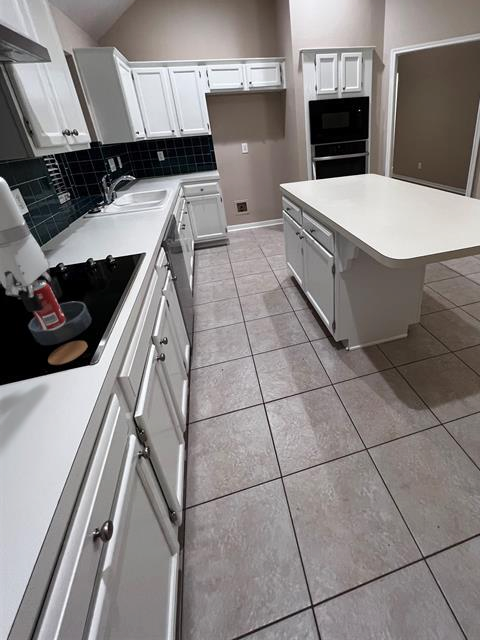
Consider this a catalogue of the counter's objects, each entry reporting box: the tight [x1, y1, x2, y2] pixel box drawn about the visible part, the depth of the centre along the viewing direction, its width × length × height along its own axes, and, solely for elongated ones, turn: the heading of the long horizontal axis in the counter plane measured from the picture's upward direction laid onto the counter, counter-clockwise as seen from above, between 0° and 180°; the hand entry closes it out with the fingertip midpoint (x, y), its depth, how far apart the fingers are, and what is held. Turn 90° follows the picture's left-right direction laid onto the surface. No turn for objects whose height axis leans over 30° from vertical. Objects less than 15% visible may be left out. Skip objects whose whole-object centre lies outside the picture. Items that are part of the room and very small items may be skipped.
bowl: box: [27, 301, 93, 346], centre depth 92 cm, size 14×14×6 cm
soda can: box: [22, 280, 66, 331], centre depth 77 cm, size 5×5×12 cm
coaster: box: [47, 340, 88, 366], centre depth 84 cm, size 9×9×1 cm
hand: (43, 302), depth 77 cm, fingers closed on soda can, 5 cm apart
